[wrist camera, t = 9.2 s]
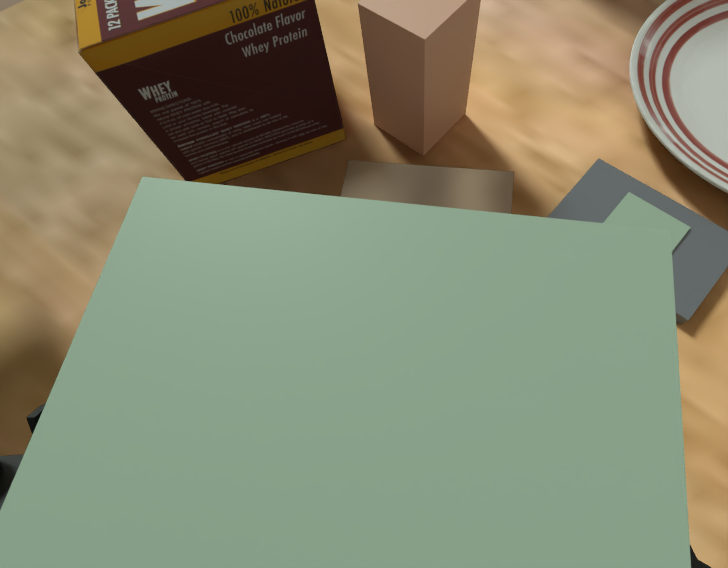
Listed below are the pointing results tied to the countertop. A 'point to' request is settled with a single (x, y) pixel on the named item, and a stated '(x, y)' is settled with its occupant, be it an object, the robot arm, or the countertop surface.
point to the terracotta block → (418, 65)
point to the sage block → (360, 393)
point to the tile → (653, 210)
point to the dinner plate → (686, 83)
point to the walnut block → (430, 185)
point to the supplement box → (216, 78)
